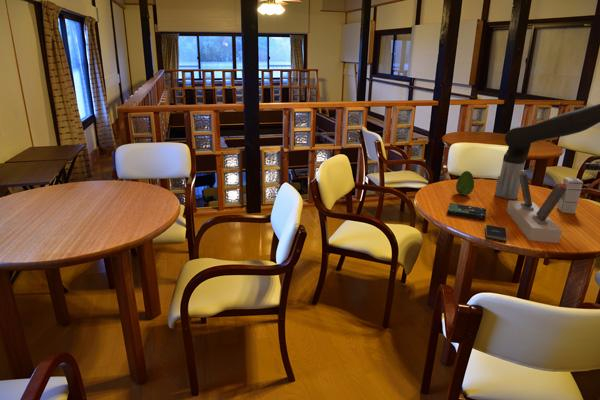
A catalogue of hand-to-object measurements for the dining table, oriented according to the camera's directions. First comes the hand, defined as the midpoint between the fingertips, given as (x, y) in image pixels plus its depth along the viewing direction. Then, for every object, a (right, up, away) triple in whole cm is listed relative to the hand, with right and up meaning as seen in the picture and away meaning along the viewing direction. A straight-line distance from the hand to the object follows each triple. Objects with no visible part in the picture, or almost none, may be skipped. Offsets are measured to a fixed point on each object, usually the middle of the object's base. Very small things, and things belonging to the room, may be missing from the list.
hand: (584, 166), depth 145 cm
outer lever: (-10, -18, +8) cm, 23 cm away
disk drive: (-30, -19, +28) cm, 46 cm away
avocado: (-22, -10, +52) cm, 58 cm away
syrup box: (+16, -17, +35) cm, 43 cm away
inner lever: (-8, -13, +22) cm, 27 cm away
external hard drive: (-28, -26, +8) cm, 39 cm away
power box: (-9, -22, +18) cm, 30 cm away
